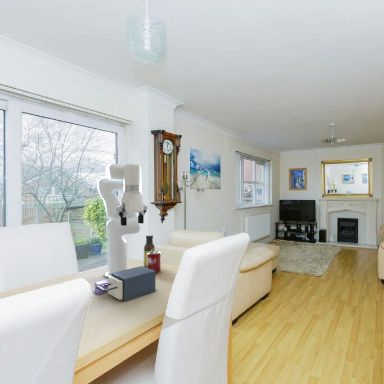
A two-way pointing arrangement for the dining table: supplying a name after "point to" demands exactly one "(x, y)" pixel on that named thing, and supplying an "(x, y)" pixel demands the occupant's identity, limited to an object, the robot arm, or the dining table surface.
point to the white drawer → (113, 287)
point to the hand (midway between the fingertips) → (132, 224)
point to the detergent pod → (101, 285)
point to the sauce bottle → (148, 248)
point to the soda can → (154, 261)
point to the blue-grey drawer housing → (136, 281)
